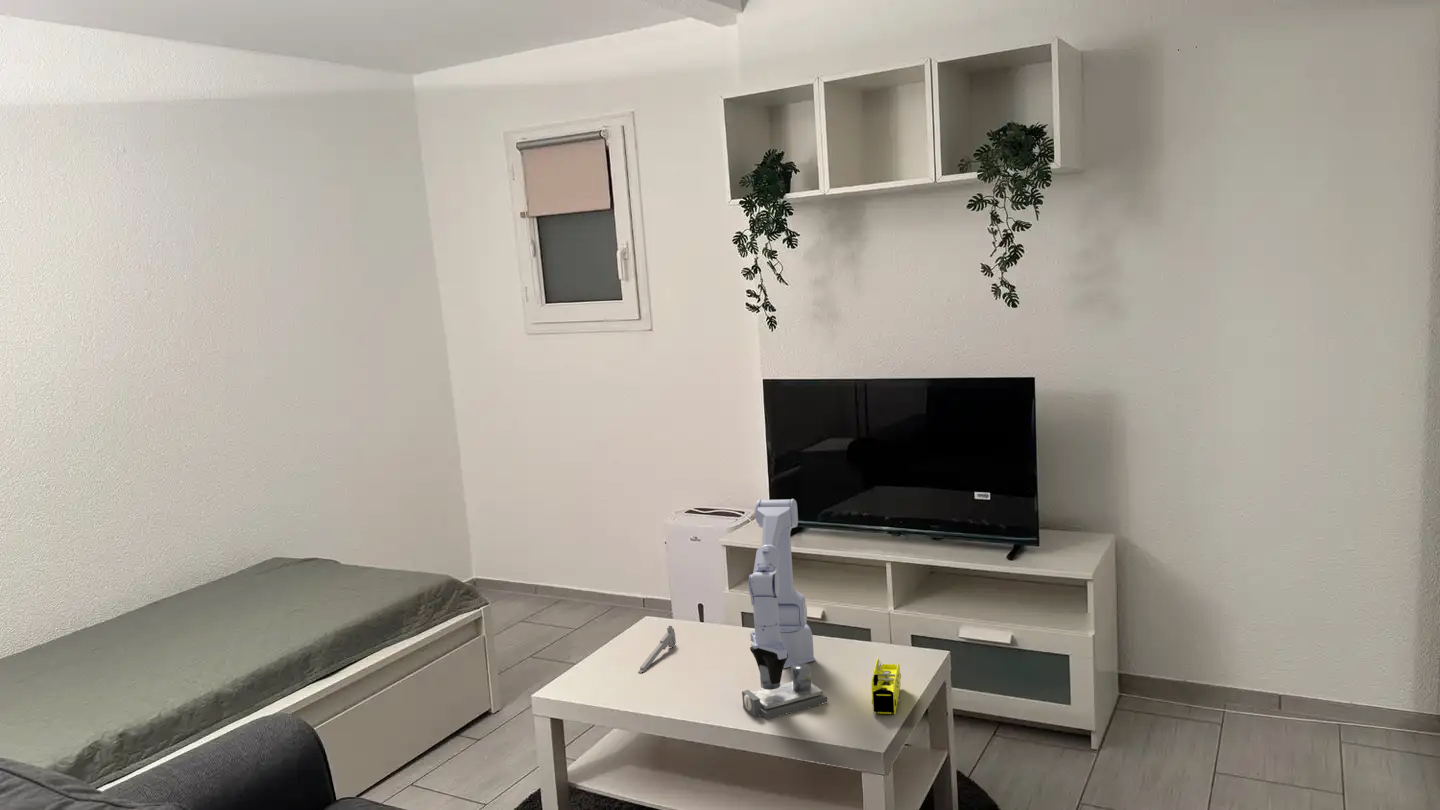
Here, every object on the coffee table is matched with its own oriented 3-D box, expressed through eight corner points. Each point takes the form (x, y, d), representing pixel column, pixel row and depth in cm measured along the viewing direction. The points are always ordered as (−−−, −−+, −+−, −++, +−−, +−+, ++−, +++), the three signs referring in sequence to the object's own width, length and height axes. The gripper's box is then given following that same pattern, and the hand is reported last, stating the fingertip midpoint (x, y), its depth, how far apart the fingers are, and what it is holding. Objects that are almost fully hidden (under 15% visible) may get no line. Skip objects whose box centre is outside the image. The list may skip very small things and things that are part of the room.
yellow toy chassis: (877, 687, 248) (875, 654, 247) (902, 688, 247) (900, 654, 246) (871, 716, 233) (869, 681, 232) (896, 717, 231) (894, 682, 230)
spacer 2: (803, 681, 248) (803, 661, 247) (814, 688, 244) (814, 667, 243) (788, 686, 245) (787, 666, 245) (799, 692, 241) (798, 672, 241)
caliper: (672, 645, 286) (670, 623, 285) (676, 646, 286) (674, 624, 285) (638, 674, 268) (636, 650, 267) (642, 674, 267) (639, 651, 266)
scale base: (804, 686, 251) (803, 670, 251) (827, 702, 241) (826, 685, 241) (737, 704, 244) (736, 687, 244) (758, 721, 234) (757, 703, 234)
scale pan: (804, 681, 250) (803, 678, 250) (823, 694, 242) (822, 690, 242) (747, 695, 244) (747, 692, 244) (765, 709, 236) (765, 706, 236)
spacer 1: (775, 680, 244) (773, 659, 243) (783, 686, 240) (782, 666, 239) (757, 684, 242) (756, 663, 242) (766, 691, 238) (764, 670, 237)
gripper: (737, 617, 244) (741, 673, 246) (765, 635, 231) (769, 694, 233) (764, 611, 247) (768, 666, 249) (793, 628, 234) (797, 686, 236)
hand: (770, 679), depth 241 cm, fingers closed on spacer 1, 4 cm apart
